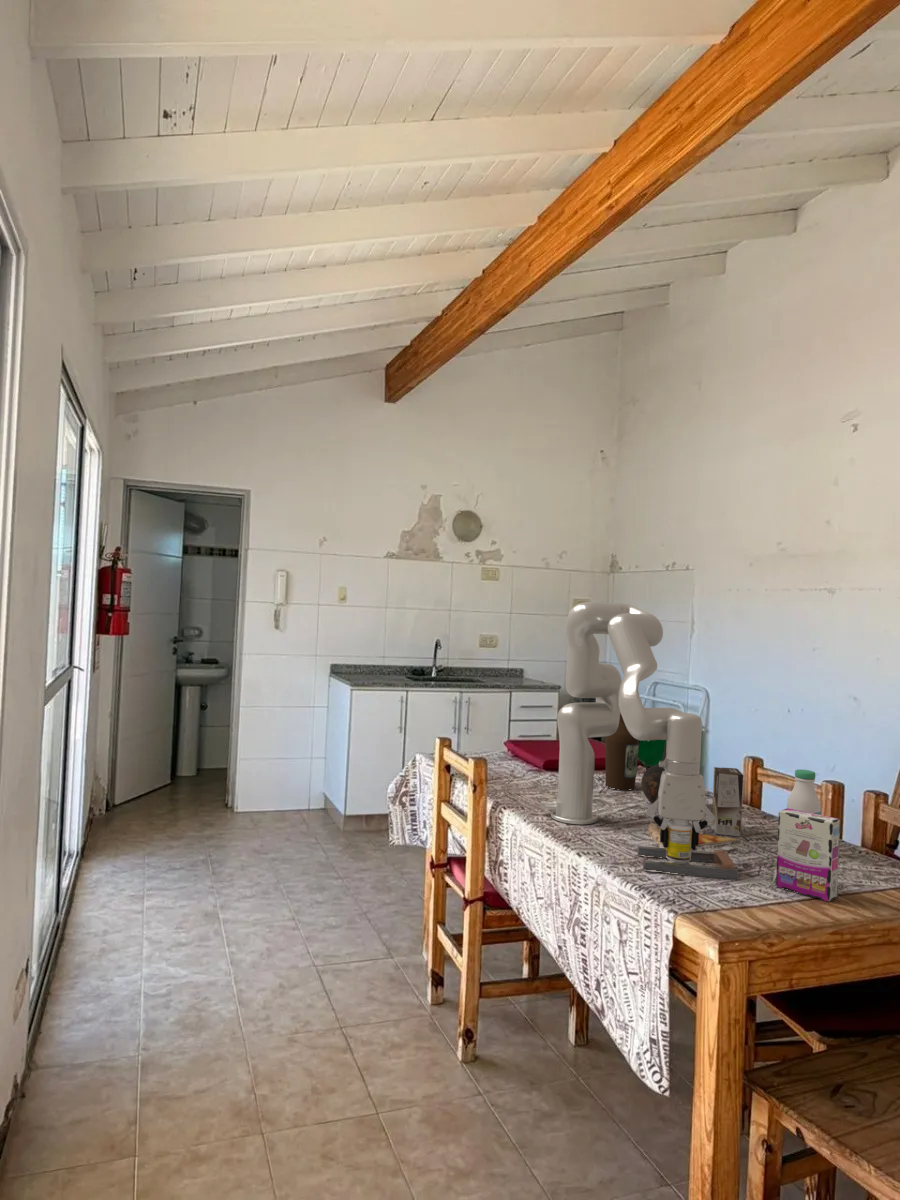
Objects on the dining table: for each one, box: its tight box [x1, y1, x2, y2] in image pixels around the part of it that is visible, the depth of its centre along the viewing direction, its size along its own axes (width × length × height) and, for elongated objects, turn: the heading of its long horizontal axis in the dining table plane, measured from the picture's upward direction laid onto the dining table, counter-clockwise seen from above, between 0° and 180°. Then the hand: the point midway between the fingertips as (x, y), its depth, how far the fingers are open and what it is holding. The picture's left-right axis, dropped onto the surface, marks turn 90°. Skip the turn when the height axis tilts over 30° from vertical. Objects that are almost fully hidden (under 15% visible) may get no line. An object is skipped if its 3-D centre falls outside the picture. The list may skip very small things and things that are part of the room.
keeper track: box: [637, 845, 739, 880], centre depth 177 cm, size 20×12×3 cm, turn 83°
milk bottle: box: [786, 769, 822, 815], centre depth 191 cm, size 8×8×20 cm
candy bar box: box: [775, 807, 841, 902], centre depth 164 cm, size 11×5×16 cm, turn 45°
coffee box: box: [711, 766, 745, 837], centre depth 207 cm, size 9×6×16 cm
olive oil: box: [604, 712, 640, 791], centre depth 252 cm, size 11×11×25 cm
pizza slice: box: [647, 822, 739, 847], centre depth 195 cm, size 16×22×2 cm
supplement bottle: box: [666, 819, 693, 864], centre depth 177 cm, size 6×6×10 cm
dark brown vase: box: [640, 740, 667, 805], centre depth 229 cm, size 18×18×28 cm
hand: (678, 846), depth 177 cm, fingers closed on supplement bottle, 5 cm apart
